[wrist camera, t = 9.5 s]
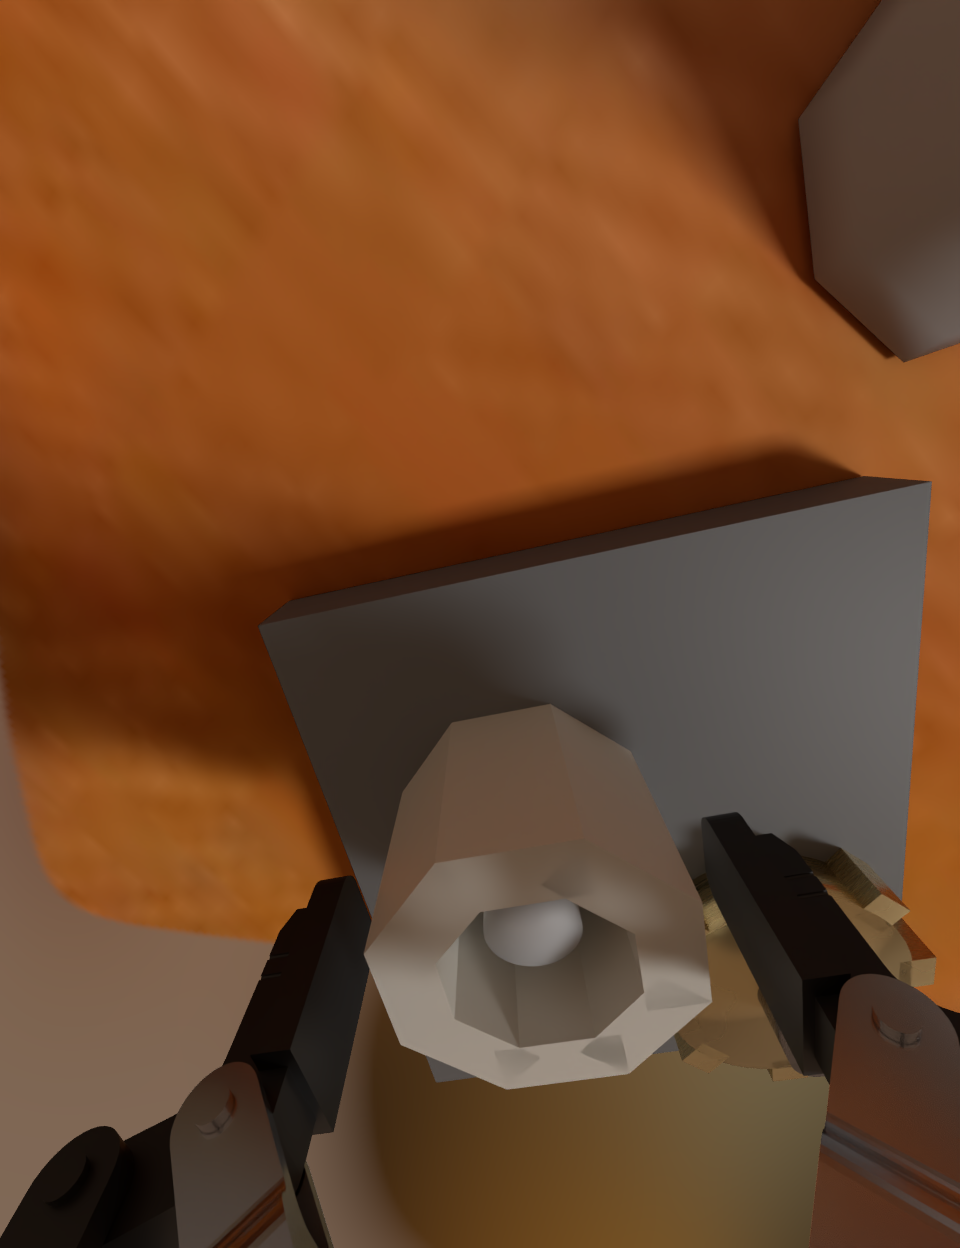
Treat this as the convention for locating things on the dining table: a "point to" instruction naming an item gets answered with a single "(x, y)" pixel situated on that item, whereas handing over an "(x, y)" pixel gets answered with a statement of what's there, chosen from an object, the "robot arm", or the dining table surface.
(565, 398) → the dining table surface
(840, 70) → the flask
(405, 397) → the dining table surface
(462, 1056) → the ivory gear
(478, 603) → the board
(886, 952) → the brass gear
